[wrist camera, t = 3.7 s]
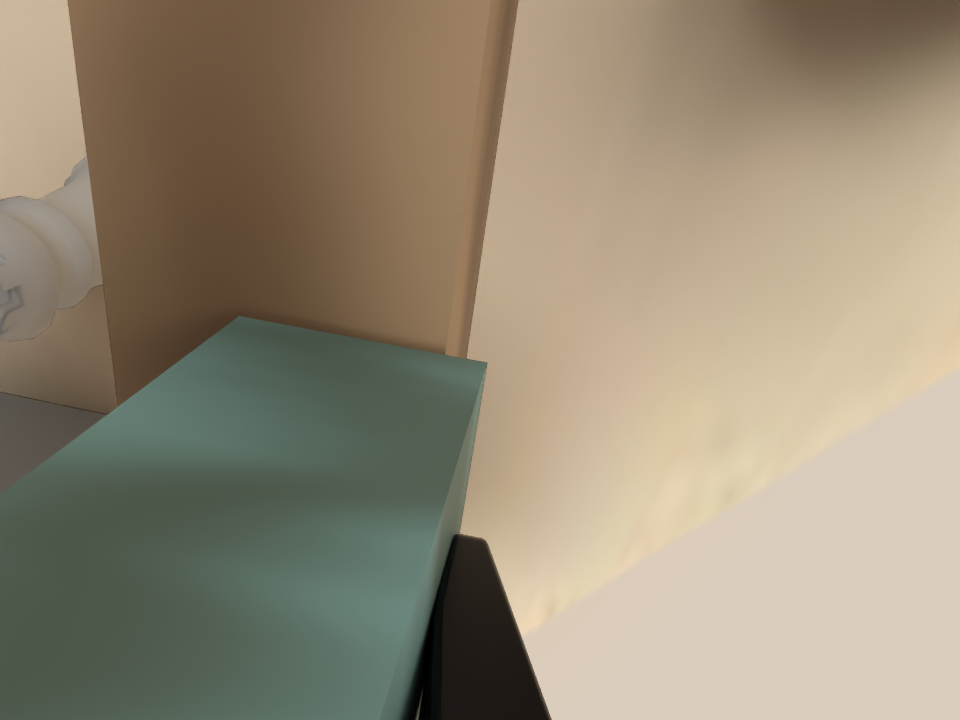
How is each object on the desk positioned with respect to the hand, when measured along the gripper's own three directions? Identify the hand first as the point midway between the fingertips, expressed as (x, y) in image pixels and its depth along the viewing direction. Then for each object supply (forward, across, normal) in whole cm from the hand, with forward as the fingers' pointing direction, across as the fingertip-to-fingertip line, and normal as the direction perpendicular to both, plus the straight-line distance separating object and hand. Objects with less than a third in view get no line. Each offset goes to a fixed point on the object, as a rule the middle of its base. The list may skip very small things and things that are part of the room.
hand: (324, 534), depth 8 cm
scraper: (+5, +1, 0) cm, 5 cm away
